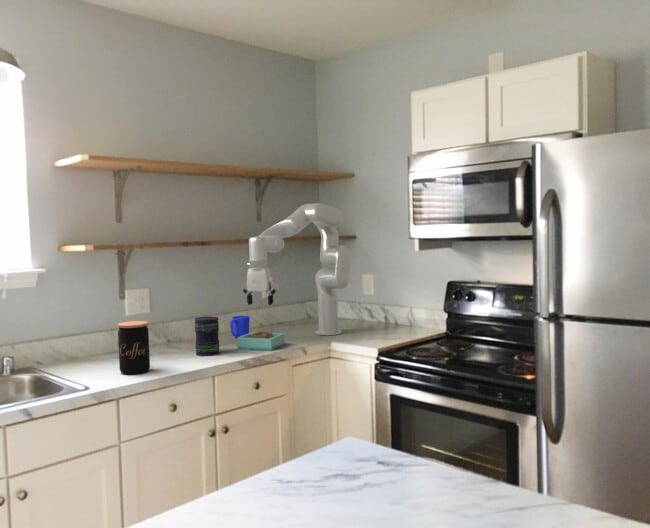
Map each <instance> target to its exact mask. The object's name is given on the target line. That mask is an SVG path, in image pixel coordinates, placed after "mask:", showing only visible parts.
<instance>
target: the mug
mask: <svg viewBox="0 0 650 528" xmlns="http://www.w3.org/2000/svg"><path fill="white" fill-rule="evenodd" d="M250 320H251V319H250V315H236V316H232V318H231V320H230V321H229V325H230V334H231V335H232V337H234V338H236V339H237V338H238V337H241V336H243V335H246V334H249V333H250Z"/></svg>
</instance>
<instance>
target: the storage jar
mask: <svg viewBox="0 0 650 528" xmlns="http://www.w3.org/2000/svg"><path fill="white" fill-rule="evenodd" d="M219 327H220V324H219V317H217V316H202V317H201V316H199V317H195V318H194V332H195V351H196V352H195V356H197V357H211V356H212V357H213V356H217V355H220V354H221V353H220V346H221V345H220V340H219V332H220V331H219V330H220V328H219Z"/></svg>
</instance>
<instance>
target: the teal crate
mask: <svg viewBox="0 0 650 528" xmlns="http://www.w3.org/2000/svg"><path fill="white" fill-rule="evenodd" d="M254 333H255V332H249V334H246V335H243V336H241V337H238V338H236V347H237V350H244V351H263V352H264V351H265V352H266V351H267V352H272V351H275V350H277V349H279V348H280V347H282V346H285V345H286V344H285V333H283V332H282V333H279V332H278V333H277V332H272V338H270V339H266V338H250V335H251V334H254Z"/></svg>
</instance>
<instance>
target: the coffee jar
mask: <svg viewBox="0 0 650 528" xmlns="http://www.w3.org/2000/svg"><path fill="white" fill-rule="evenodd" d="M148 325H149V322H148V321H146V320H145V321H144V320H132V321H124V322H120V323H117V327H118V331H117V338H118V339H117V340H118V361H119V362H118V363H119V371H120V372H121V374H122V375H127V376H131V375H133V376H134V375H141V374H145V373H148V372H149V370H150V369H151V360H150V359H151V358H150V356H151V355H150V354H151V353H150V337H149V327H148Z"/></svg>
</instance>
